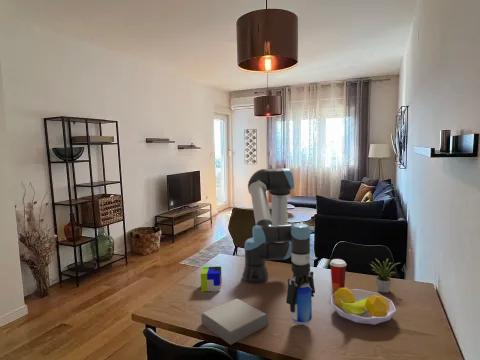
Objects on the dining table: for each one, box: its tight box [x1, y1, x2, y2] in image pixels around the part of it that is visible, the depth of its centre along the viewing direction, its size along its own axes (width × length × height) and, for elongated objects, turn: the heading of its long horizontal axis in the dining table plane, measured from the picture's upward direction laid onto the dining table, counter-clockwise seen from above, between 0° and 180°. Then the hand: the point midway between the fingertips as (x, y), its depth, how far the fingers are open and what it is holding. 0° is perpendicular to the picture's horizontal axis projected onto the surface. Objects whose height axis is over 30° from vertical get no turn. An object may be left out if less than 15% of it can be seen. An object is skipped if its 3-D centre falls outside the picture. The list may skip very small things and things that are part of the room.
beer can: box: [291, 283, 313, 326], centre depth 129 cm, size 8×8×16 cm
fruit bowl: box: [330, 287, 397, 326], centre depth 136 cm, size 28×27×11 cm
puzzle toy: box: [200, 266, 223, 292], centre depth 169 cm, size 10×10×10 cm
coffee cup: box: [329, 258, 347, 292], centre depth 162 cm, size 8×8×15 cm
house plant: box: [369, 258, 401, 293], centre depth 159 cm, size 14×14×16 cm
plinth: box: [200, 298, 269, 346], centre depth 132 cm, size 20×20×5 cm
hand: (301, 314), depth 129 cm, fingers closed on beer can, 8 cm apart
